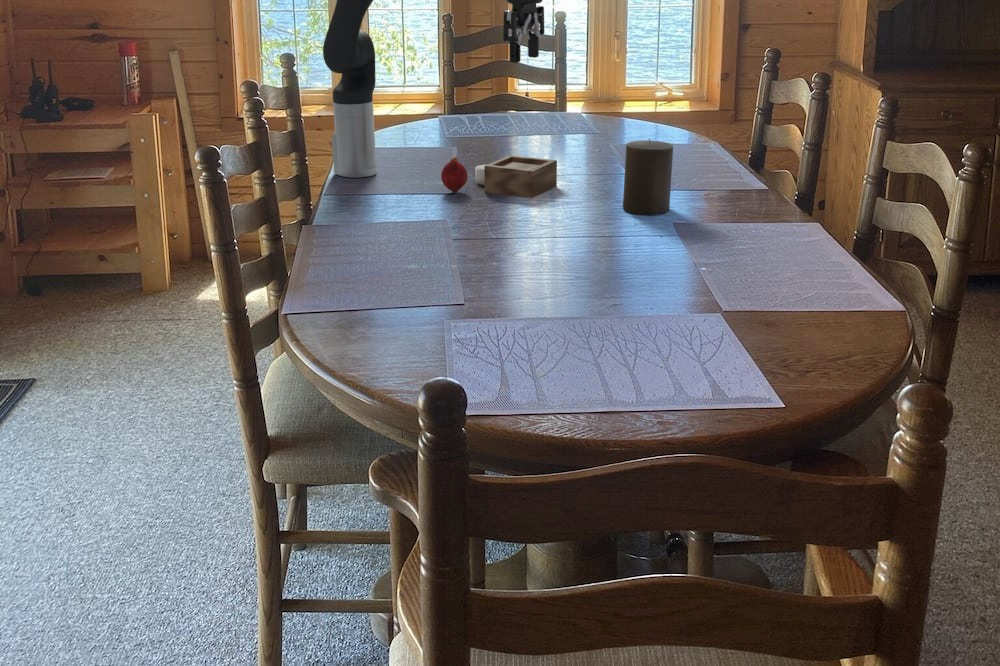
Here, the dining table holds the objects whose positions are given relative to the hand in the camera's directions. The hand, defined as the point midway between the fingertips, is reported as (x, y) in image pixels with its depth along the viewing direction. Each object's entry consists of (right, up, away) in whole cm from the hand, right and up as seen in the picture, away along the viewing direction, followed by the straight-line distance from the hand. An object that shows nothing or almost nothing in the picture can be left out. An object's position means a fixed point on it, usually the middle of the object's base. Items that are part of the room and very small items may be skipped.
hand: (524, 59), depth 223 cm
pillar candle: (+26, -32, -1) cm, 41 cm away
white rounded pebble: (-8, -23, +22) cm, 33 cm away
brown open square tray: (0, -25, +15) cm, 29 cm away
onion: (-15, -26, +13) cm, 33 cm away
